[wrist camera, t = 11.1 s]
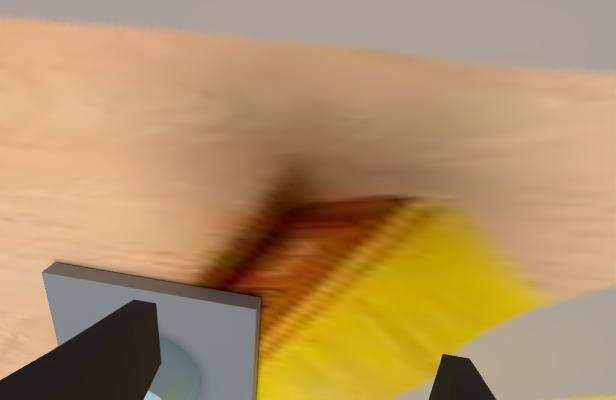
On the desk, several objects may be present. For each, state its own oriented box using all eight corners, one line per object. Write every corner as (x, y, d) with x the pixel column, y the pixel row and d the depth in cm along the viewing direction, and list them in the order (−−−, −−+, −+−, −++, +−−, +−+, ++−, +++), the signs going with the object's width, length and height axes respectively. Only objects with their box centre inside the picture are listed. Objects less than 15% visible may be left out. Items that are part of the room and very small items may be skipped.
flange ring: (198, 344, 22) (174, 390, 19) (201, 413, 24) (179, 462, 21) (104, 327, 22) (67, 368, 20) (115, 396, 25) (83, 441, 22)
